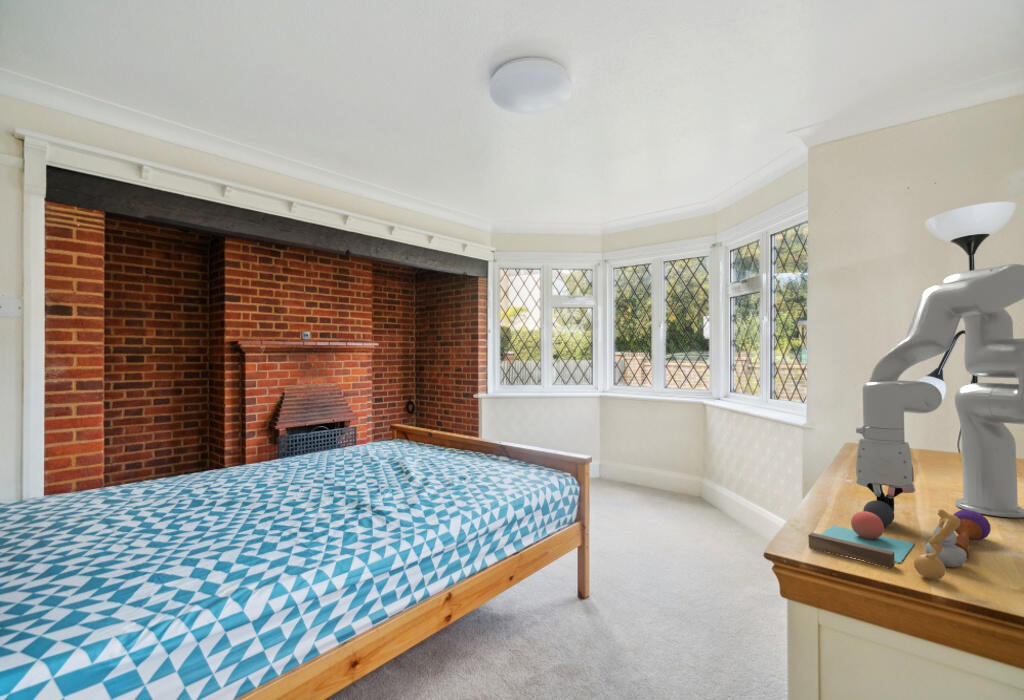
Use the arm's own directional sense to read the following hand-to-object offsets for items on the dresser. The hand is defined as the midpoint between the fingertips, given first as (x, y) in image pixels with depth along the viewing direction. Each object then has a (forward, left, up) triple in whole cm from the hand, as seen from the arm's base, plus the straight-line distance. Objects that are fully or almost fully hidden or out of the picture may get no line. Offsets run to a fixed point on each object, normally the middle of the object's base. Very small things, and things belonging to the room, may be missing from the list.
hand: (885, 513), depth 109 cm
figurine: (+32, +13, -2) cm, 34 cm away
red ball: (+17, 0, +1) cm, 17 cm away
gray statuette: (+22, +13, -2) cm, 25 cm away
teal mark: (+21, 0, -2) cm, 21 cm away
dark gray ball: (+6, 0, +1) cm, 6 cm away
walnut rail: (+31, 0, -2) cm, 31 cm away
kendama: (+7, +14, -2) cm, 16 cm away
